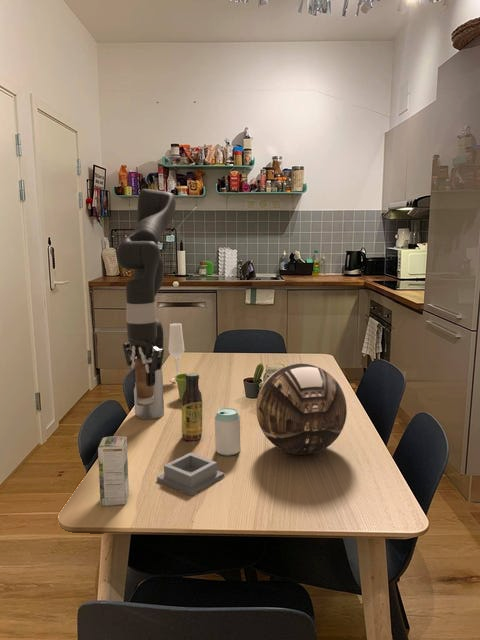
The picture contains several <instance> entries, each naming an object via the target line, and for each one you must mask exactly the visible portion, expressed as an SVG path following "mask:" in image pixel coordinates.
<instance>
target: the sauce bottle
mask: <svg viewBox="0 0 480 640" xmlns="http://www.w3.org/2000/svg"><path fill="white" fill-rule="evenodd" d="M186 373H187V374H186V375H185V379H186V390H185V391H184V394H183V396H182V400H181V403H182V404H181V437H182V439H183V440H185V441H197V440H199V439H201V438H202V435H203V397H202V392H201V390H200V389H199V387H200V386H199V380H200V377H199V375H200V374H199V372H186ZM198 379H199V380H198Z"/></svg>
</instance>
